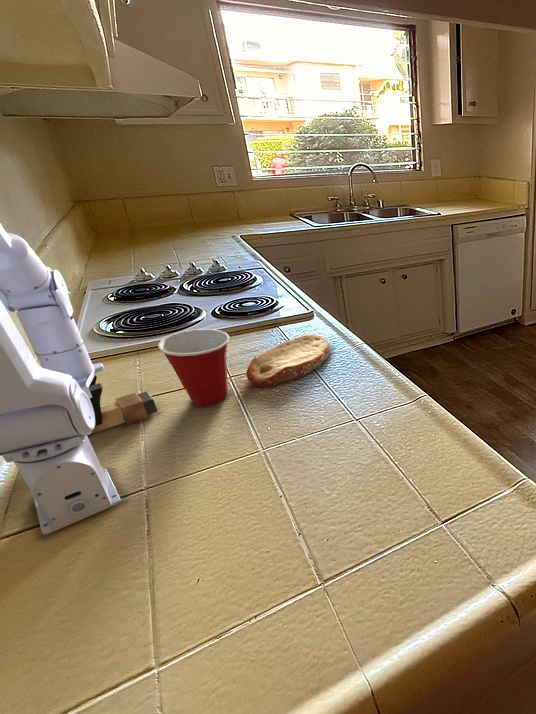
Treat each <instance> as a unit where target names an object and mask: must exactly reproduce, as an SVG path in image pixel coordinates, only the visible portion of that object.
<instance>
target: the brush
mask: <svg viewBox="0 0 536 714" xmlns="http://www.w3.org/2000/svg"><path fill="white" fill-rule="evenodd" d="M100 407H101V413H102V424H100V425H97V426H95V427H94V429H93V430H92V432H91V434H90V435H92V434H95V433H98V432H101V431H104V430H107V429H110V428H113V427H116V426H119V425H122V424H125V423H126V424H127V425H130V424H133V423H135V422H138V421H142V420H145V419H147V418H149V415H152V414H153V415H154V414H156V413H158V412H159V410H158V408H157V405H156V401H155V399H154V398H153V397H152V395H151V394H150V393H149V392H148V391H143V392H140V393H137V392H133V393H130V394H126V395H123V396H119V397H117V398H115V402H113V403H112V402H111V403H109V404H106V405H102V406H100Z"/></svg>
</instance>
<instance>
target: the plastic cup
mask: <svg viewBox="0 0 536 714" xmlns="http://www.w3.org/2000/svg"><path fill="white" fill-rule="evenodd" d="M230 339H231V337H230V335H229V334H228V333H227V332H225V331H223V330H220V329H213V328H194V329H188V330H183V331H182V330H181V331H179V332H176V333H172V334H169V335H167V336H165V337H164V338H162V339H161V340H160V341H159V342H158V344H157V346H158V349H159V351H160V352H162V353H163V354H164V356H165V357H166V359H167V361H168V362H169V364H170V365H171V367H172V369H173V370H174V372H175V374H176V376H177V378H178V380H179V381H180V383H181V386H182V387H183V390H185V392H186V393H187V395H188V397H189V399H190V400H191V401H192V402H193V404H194V405H197V406H202V407H203V406H211V405H214V404H217V403H219V402H221V401H223V400H224V399H226V398H227V396H228V391H229V389H228V388H229V387H228V364H227V363H228V361H227V360H228V359H227V349H228V343H229V342H230Z"/></svg>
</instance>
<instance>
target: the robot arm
mask: <svg viewBox="0 0 536 714" xmlns="http://www.w3.org/2000/svg"><path fill="white" fill-rule="evenodd" d="M8 311H9V312H11V313H14V312H16V311H17V312H16V313H15V314H16V316H17V318H18V320H19V323H20V325H21V327H22V329H23V331H24V333H25V336H26V337H27V341H28V342H29V344H30V346H31V348H32V350H33V352H34V354H35V357H36V359H37V361H38V363H39V364H38V363H37V361H36V360H35V358H34V356H33V354H32V352H31V351H30V349H29V347H28V345H27V344H26V342H25V340H24V338H23V336H22V335H21V334H20V332H19V330H18V328H17V327H16V325H15V323H14V321H13V318H12V317H11V316H10V314H9V312H8ZM73 313H74V309H73V305H72V302H71V300H70V297H69V290H68V287H67V284H66V281H65V279H64V278H63V275H62V274H61V272H60V271H59V270H58V269H51V268H50V267H49V266H46V265H45V264H44V263H43V262H42V260H41V259H40V257H39V256H38V255H37V253H35V251H34V250H33V249H32V247H30V245H29V244H28V243H27V241H26V240H25V239H24V238H22V237H21V236H20V235H17V234H15V233H11V232H7V231H6V230H5V229H4V227H3V225H2V223H0V457H1V456H2V458H3V459H4V461H5V462H6V463H7V464H8V463H14V465H15V466H16V468H17V470H18V472H19V473H20V475H21V477H22V478H23V479H22V480H23V481H24V482H25V484H26V486H27V487H28V490H29V491H30V493H31V495H32V497H33V502H34V505H35V510H36V514H37V519H38V523H39V526H40V527H39V528H40V531H41V533H42V535H45V536H46V535H49V534H53V533H54V532H56V531H59V530H61V529H63V528H66V527H68V526H70V525H73V524H75V523H78V522H79V521H81V520H84V519H86V518H89V517H91V516H93V515H95V514H97V513H100V512H103V511H104V510H107V509H110V508H112V507H114V506H116V505H118V504H120V503H121V502H122V499H121V497H120V494H119V493H118V491H117V488H116V486H115V485H114V482H113V480H112V478H111V476H110V474H109V472H108V469H107V468H103V467H102V465H101V462H100V461H99V458H98V456H97V454H96V452H95V450H94V448H93V446H92V442H91V441H90V439H89V437H88V436H90V435H92V434H91V432H92V430H93V429H94V427H95V426H97V425H100V424H102V413H101V407H102V406H101V398H102V393H103V385H102V383H101V382H99V383H97V379H98V377H97V375H96V374H97V373H99V372H102V371H104V370H105V367H104V365H103V363H102V362H98V363H93V362H92V360H91V358H90V355H89V353H88V350H87V348H86V346H85V342H84V340H83V339H82V336H81V333H80V331H79V328H78V326H77V324H76V320H75V319H74V317H73ZM39 365H40V366H39Z"/></svg>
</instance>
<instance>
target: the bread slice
mask: <svg viewBox="0 0 536 714" xmlns="http://www.w3.org/2000/svg"><path fill="white" fill-rule="evenodd" d="M331 350H332V349H331V345H330V343H329V341H328V340H327V339H325V337H323V336H321V335H316V334H303V335H299V336H296V337H294V338H293V339H292V338H291V339H288V340H287V341H284V342H282V343H279V344H278V345H275V346H274V347H272V348H270V349H268V350H266V351H264V352H262V353H259V354H258V355H257V356H254V357H253V359H252V360H251V361H250V363H249V365H248V366H247V369H246V378H247V380H248V381H249V382H250V384H251V385H252V386H253V387H256V388H268V387H269V388H271V387H275V385H277V384H278V385H279V384H281V383H285V382H290V381H293V380H296V379H297V380H298V379H300V378H302V377H304V376H306V375H307V374H310V373H311V372H313V371H314V370H316V369H318V368H319V367H321V365H322V363H324V362H325V361H327V360H328V358H329V357H330V353H331Z"/></svg>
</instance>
